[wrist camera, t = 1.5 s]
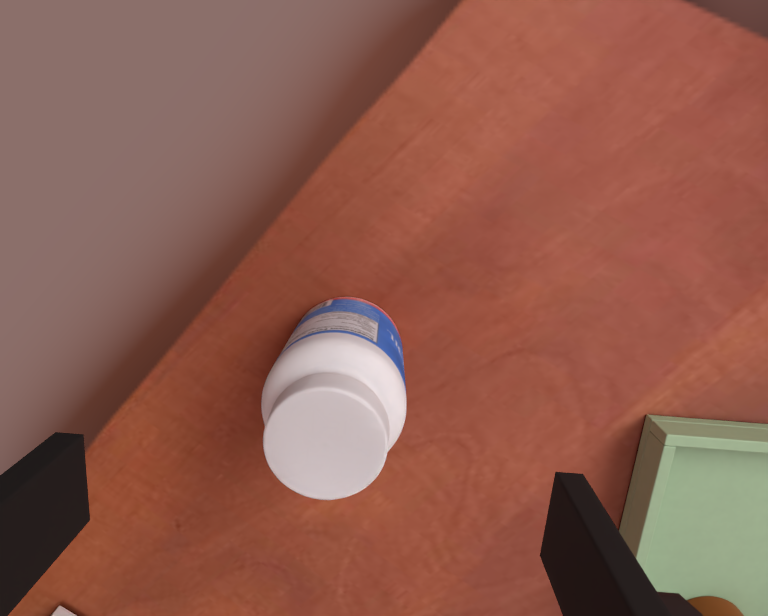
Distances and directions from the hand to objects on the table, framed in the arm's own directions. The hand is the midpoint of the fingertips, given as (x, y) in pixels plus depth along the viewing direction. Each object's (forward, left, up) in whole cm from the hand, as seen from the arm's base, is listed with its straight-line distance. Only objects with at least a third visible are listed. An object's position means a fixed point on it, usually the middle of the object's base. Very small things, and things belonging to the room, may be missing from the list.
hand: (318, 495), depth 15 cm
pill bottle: (0, 0, -12) cm, 12 cm away
